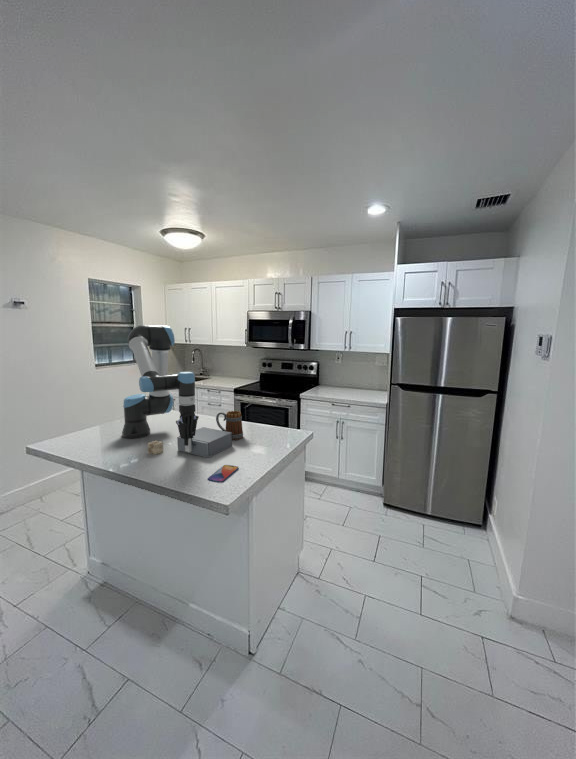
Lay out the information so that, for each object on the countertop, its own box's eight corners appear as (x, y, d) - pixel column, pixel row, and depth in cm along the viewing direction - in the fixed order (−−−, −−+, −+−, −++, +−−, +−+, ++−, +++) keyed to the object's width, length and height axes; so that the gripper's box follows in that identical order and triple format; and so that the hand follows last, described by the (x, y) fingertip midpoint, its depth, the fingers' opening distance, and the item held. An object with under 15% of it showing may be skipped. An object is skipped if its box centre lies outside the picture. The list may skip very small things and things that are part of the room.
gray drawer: (206, 457, 154) (206, 443, 152) (177, 450, 162) (176, 437, 161) (229, 446, 169) (228, 434, 168) (200, 440, 178) (200, 428, 177)
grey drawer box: (209, 457, 155) (208, 442, 154) (179, 449, 164) (178, 435, 163) (232, 446, 171) (231, 432, 170) (203, 439, 180) (203, 427, 179)
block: (148, 452, 160) (147, 443, 159) (156, 449, 164) (155, 440, 163) (155, 454, 157) (154, 445, 157) (163, 451, 162) (162, 442, 161)
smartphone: (206, 481, 131) (206, 478, 131) (224, 466, 145) (224, 464, 145) (222, 484, 129) (222, 481, 128) (239, 469, 143) (239, 466, 143)
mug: (245, 435, 189) (244, 410, 187) (240, 440, 179) (240, 415, 177) (219, 434, 191) (219, 409, 189) (213, 439, 181) (213, 414, 178)
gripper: (182, 407, 145) (184, 456, 149) (202, 402, 157) (203, 448, 160) (171, 405, 149) (172, 453, 152) (191, 401, 160) (192, 446, 163)
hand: (188, 451), depth 156 cm, fingers closed
